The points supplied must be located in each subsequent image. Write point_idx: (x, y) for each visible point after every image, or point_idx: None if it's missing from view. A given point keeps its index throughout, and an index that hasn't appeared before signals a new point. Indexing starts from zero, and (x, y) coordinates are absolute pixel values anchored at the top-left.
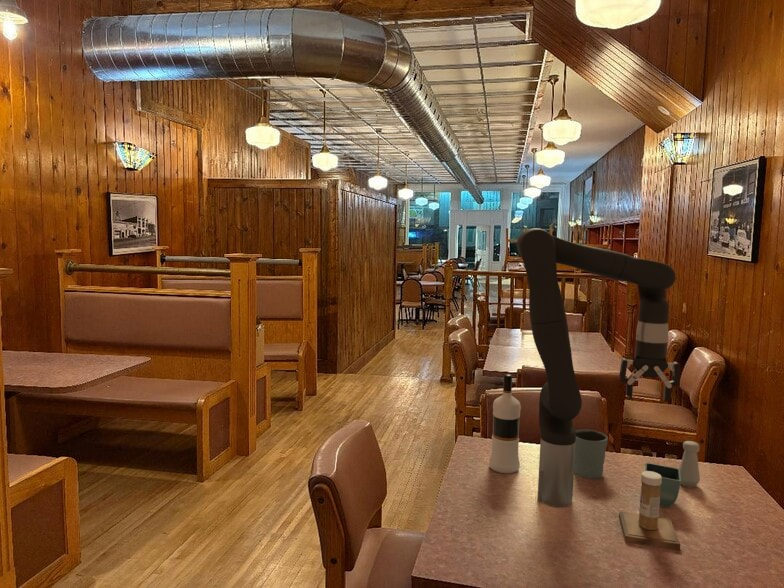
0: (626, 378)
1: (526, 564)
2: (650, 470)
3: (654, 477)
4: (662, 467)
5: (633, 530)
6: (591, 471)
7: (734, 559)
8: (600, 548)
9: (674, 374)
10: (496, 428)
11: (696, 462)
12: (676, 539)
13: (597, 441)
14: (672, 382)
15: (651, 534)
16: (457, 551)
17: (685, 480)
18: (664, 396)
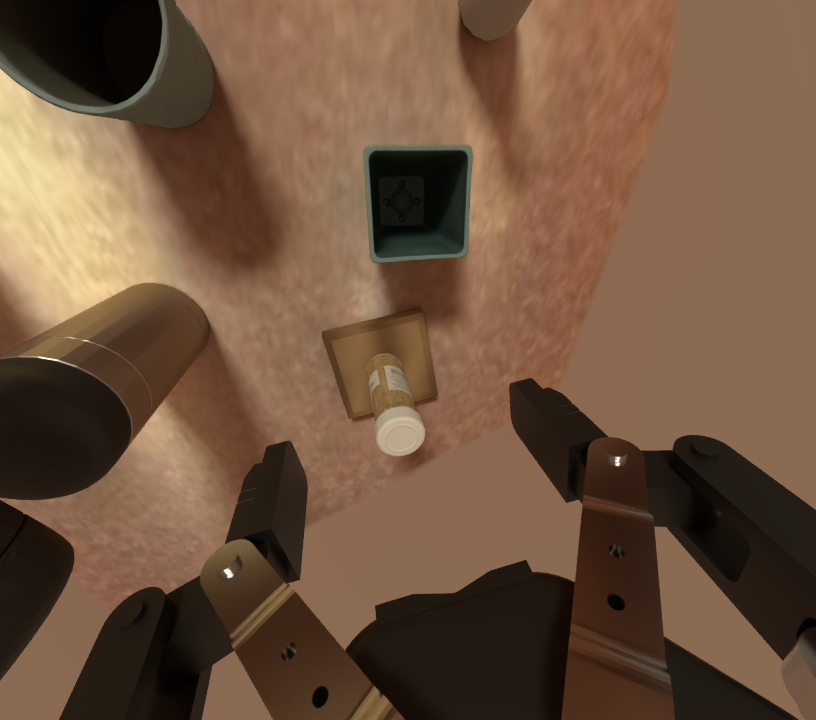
0: (216, 660)
1: None
2: (379, 154)
3: (408, 450)
4: (419, 151)
5: (360, 397)
6: (181, 124)
7: (512, 371)
8: (315, 449)
9: (756, 626)
10: None
11: None
12: (432, 384)
13: (142, 100)
14: (660, 524)
15: None
16: (122, 563)
17: (478, 36)
18: (526, 435)
